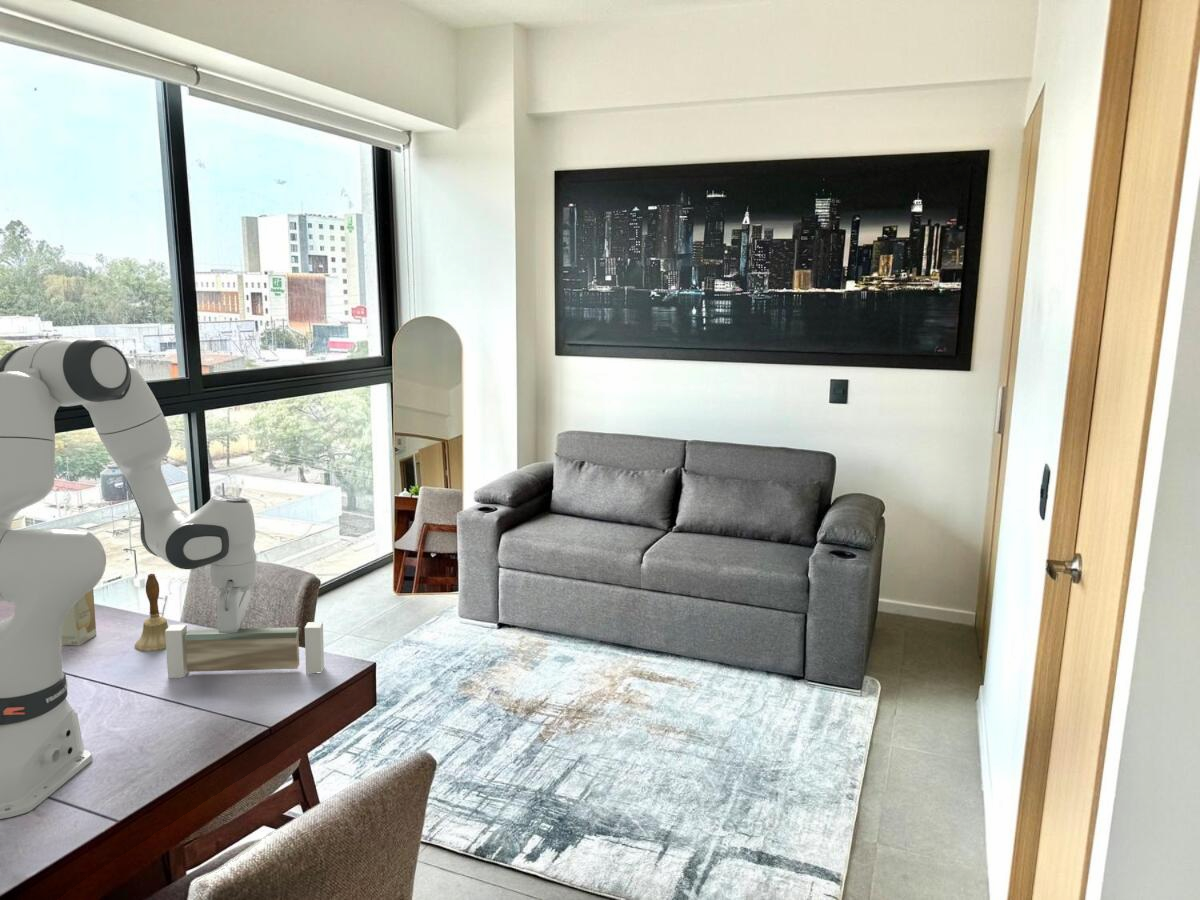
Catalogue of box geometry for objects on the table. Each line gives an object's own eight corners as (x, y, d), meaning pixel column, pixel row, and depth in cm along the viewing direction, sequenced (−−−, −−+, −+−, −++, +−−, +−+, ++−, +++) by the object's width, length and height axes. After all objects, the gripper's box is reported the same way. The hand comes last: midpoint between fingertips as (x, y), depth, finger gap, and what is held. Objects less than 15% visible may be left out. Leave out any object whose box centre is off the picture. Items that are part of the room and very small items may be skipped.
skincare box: (79, 646, 178) (75, 592, 175) (59, 645, 178) (55, 591, 175) (98, 634, 184) (94, 582, 182) (78, 633, 184) (74, 581, 182)
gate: (296, 669, 168) (295, 632, 167) (186, 672, 165) (184, 634, 164) (299, 663, 171) (298, 627, 169) (191, 666, 168) (189, 629, 166)
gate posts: (321, 673, 169) (320, 627, 167) (168, 678, 164) (165, 630, 163) (324, 667, 172) (322, 621, 170) (173, 671, 167) (170, 624, 166)
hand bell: (174, 649, 178) (169, 578, 175) (130, 653, 175) (125, 581, 172) (180, 634, 185) (176, 566, 183) (139, 638, 183) (134, 569, 180)
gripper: (242, 589, 159) (245, 656, 162) (256, 557, 179) (258, 618, 181) (207, 591, 158) (210, 659, 160) (225, 559, 177) (227, 620, 179)
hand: (236, 637), depth 171 cm, fingers closed
